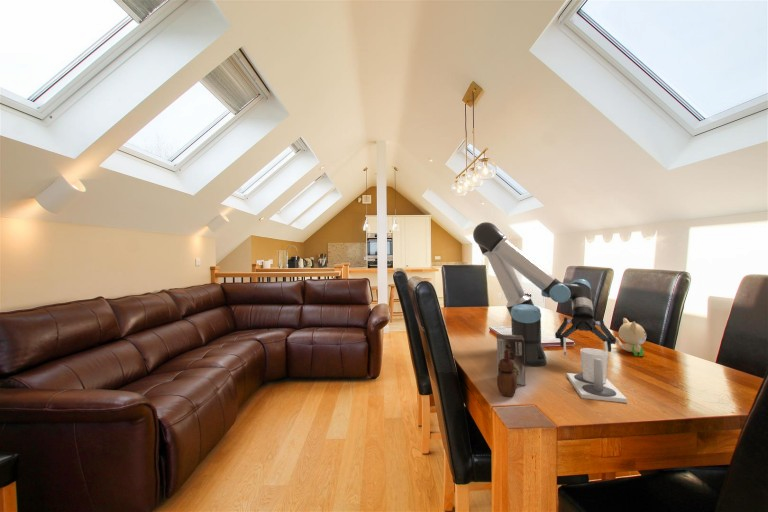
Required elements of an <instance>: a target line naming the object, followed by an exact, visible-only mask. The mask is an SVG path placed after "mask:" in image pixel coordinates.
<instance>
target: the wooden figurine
mask: <svg viewBox="0 0 768 512" xmlns="http://www.w3.org/2000/svg"><path fill="white" fill-rule="evenodd" d="M499 368H500V370H501V371H499V373H498V372H497V376H496V377H497V378H496V383H497V388H498V392H499V393H500V394H501V395H502V396H505V397H512V396H514V395H515V394H516V390H517V386H518V385H517V379H516V375H515V373H514V372H513V370H514V363H513V361H512V360H510V359H509V358H508V350H506V352H505V355H504V359H501V360H500V362H499Z"/></svg>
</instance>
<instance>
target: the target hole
mask: <svg viewBox="0 0 768 512" xmlns="http://www.w3.org/2000/svg"><path fill="white" fill-rule="evenodd" d="M576 374H577V375H575V376H574V378H575V379H577V380H579V381H581V382H584V383H589V384H594V383H592V382H589V381H586V380H584V379H583V373H576Z"/></svg>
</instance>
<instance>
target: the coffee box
mask: <svg viewBox="0 0 768 512" xmlns="http://www.w3.org/2000/svg"><path fill="white" fill-rule="evenodd" d="M506 350H508V358H509V359H510V360H512V361H513V363H514V370H513V372H514V373H515V375H516V379H517V384H521V385H520V386H526V385H527V384H526V365H525V355H524V339H523V336H522V335H512V334H503V333H502V334H501V333H499V334H496V353H497V355H496V356H497V374H498V373H499V371H501V370H500V368H499V362H500V360H501V359H504V355H505V352H506Z"/></svg>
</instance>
